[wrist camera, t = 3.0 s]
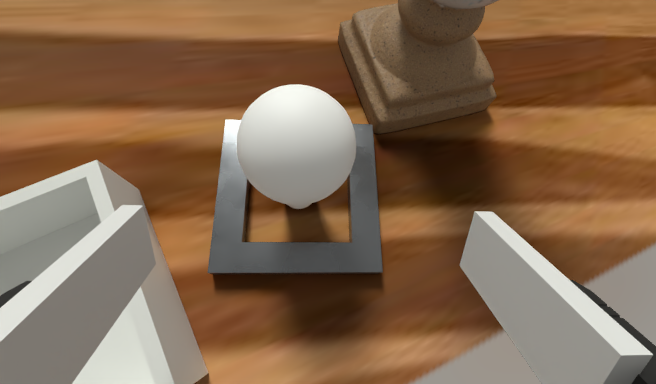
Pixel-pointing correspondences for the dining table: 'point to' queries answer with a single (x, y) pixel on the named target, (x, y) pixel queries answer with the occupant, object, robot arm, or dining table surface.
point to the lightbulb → (296, 145)
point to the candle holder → (417, 62)
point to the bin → (146, 305)
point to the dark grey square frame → (296, 256)
